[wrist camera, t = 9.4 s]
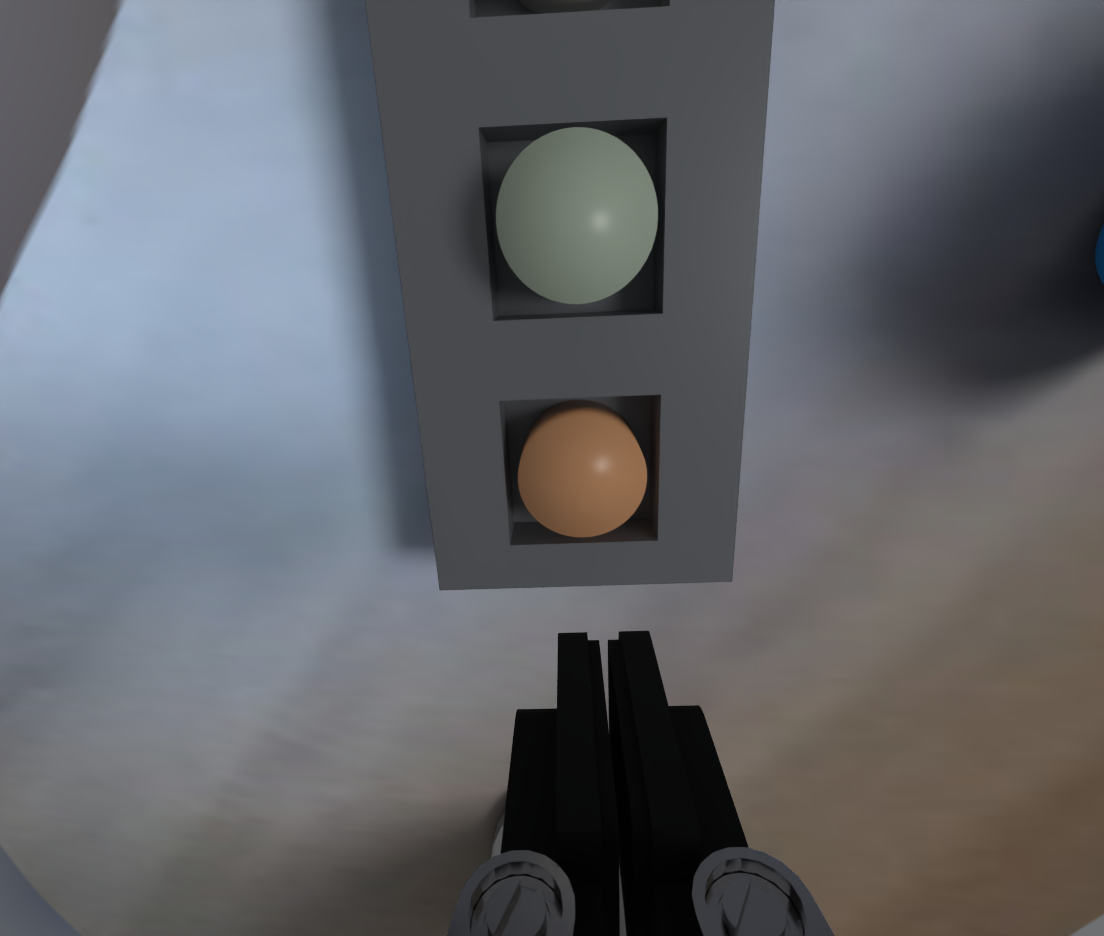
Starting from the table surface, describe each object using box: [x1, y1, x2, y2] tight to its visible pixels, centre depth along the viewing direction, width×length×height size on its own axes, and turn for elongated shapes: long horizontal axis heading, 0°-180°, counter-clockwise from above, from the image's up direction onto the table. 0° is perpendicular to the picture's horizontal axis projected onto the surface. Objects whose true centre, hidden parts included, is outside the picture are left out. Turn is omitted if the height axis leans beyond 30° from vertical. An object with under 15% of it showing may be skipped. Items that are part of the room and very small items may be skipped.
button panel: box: [365, 0, 775, 590], centre depth 18 cm, size 25×11×4 cm, turn 2°
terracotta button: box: [518, 400, 647, 537], centre depth 20 cm, size 4×4×2 cm
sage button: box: [496, 127, 658, 304], centre depth 16 cm, size 4×4×2 cm
